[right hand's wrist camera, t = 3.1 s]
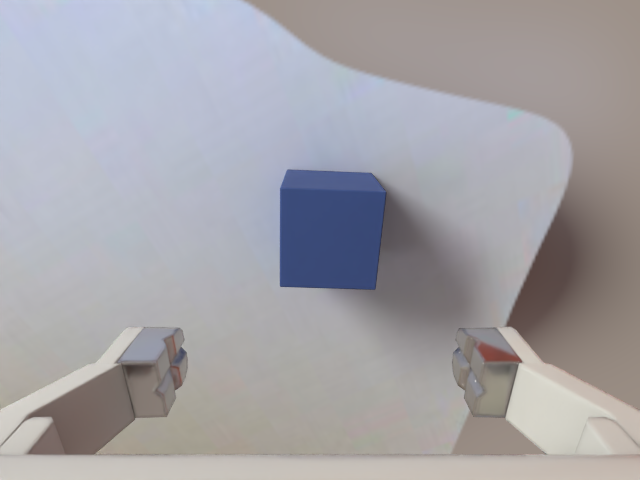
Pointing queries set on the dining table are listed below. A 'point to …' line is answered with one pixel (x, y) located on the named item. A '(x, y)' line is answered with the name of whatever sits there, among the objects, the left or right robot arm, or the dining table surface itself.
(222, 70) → the dining table surface
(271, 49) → the dining table surface
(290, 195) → the block
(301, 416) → the dining table surface
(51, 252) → the dining table surface
